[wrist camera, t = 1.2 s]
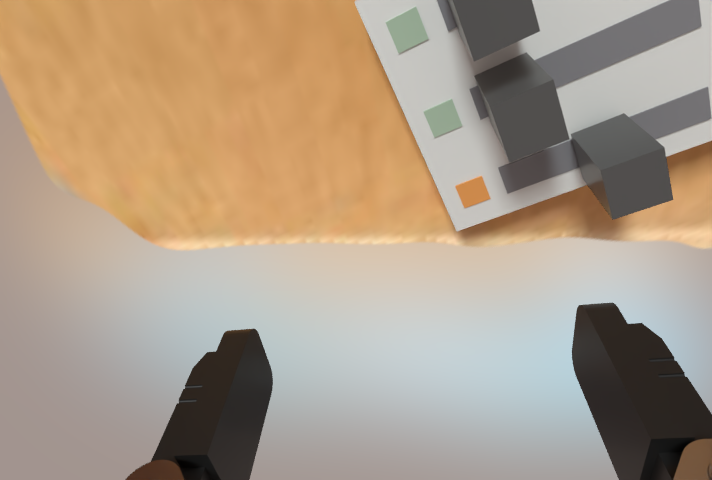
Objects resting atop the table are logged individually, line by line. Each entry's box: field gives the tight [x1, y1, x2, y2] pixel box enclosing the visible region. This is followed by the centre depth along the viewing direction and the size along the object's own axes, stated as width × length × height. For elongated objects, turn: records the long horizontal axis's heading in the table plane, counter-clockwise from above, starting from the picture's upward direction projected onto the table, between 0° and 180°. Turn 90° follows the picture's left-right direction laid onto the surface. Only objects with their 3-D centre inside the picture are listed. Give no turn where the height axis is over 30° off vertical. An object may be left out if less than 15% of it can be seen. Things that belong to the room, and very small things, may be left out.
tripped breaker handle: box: [571, 113, 673, 220], centre depth 27 cm, size 3×3×5 cm
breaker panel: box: [355, 0, 712, 231], centre depth 26 cm, size 20×16×8 cm
